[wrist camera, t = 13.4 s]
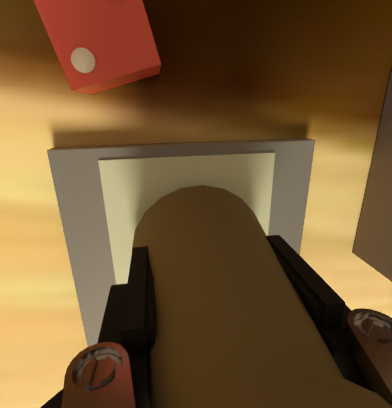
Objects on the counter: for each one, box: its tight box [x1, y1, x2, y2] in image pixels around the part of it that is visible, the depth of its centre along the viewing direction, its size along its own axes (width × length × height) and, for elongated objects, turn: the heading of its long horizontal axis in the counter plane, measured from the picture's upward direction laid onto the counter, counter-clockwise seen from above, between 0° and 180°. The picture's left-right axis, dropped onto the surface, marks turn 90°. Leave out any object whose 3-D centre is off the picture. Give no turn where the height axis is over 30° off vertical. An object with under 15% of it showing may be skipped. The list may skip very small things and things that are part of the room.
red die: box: [34, 0, 161, 94], centre depth 9 cm, size 3×3×3 cm
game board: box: [47, 138, 315, 347], centre depth 15 cm, size 12×18×1 cm, turn 1°
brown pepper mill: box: [132, 185, 392, 408], centre depth 7 cm, size 6×6×11 cm
